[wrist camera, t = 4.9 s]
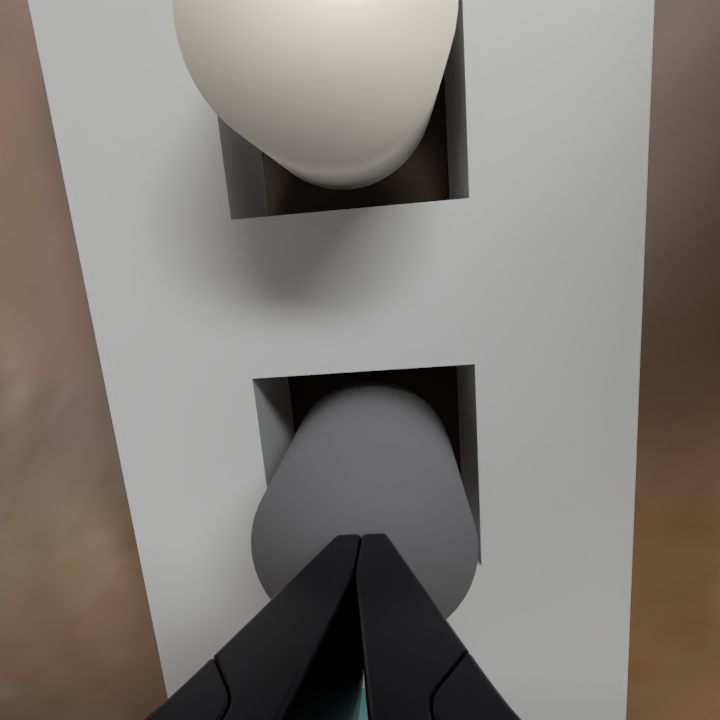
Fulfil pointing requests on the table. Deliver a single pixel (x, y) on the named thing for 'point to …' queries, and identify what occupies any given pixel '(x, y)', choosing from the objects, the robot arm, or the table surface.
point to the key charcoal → (369, 491)
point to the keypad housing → (378, 320)
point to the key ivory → (321, 78)
